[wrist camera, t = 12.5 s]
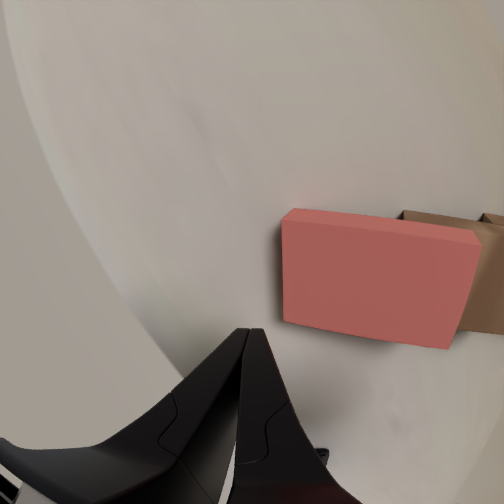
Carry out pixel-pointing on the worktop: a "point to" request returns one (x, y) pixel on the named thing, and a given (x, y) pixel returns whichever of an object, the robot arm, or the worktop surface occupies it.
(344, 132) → the worktop surface
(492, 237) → the domino
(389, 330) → the domino
